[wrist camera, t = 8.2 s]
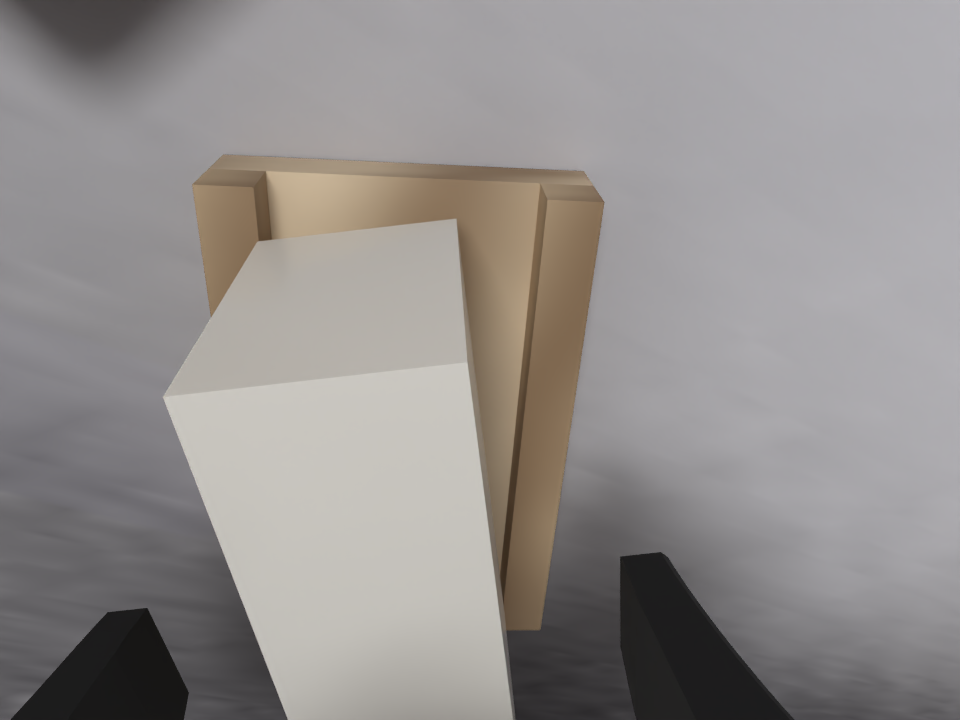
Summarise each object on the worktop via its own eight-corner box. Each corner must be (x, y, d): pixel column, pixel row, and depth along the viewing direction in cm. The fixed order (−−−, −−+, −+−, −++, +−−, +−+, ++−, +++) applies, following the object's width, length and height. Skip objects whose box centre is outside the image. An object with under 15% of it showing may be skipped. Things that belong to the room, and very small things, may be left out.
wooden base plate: (584, 171, 14) (604, 201, 12) (530, 570, 20) (540, 629, 18) (223, 154, 14) (192, 184, 12) (271, 569, 19) (255, 631, 17)
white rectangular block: (504, 610, 17) (526, 828, 13) (362, 626, 18) (337, 848, 13) (456, 218, 12) (467, 362, 8) (257, 241, 12) (162, 396, 8)
